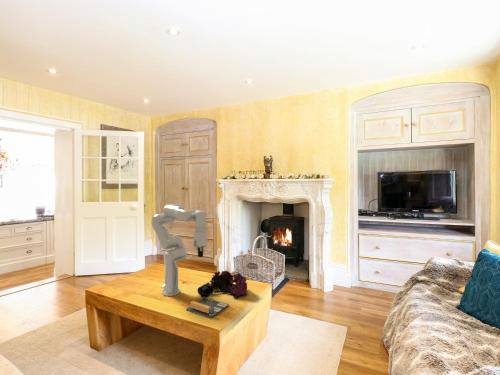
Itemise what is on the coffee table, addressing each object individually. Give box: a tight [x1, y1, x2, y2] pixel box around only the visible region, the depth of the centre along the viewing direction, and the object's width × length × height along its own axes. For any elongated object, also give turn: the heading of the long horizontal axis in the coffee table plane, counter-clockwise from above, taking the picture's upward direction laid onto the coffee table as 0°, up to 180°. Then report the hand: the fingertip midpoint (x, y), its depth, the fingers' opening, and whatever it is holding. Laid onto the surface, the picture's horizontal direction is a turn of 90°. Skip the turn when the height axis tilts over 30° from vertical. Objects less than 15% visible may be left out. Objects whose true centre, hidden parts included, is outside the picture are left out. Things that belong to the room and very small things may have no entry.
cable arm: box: [189, 300, 214, 314], centre depth 161 cm, size 18×3×3 cm, turn 60°
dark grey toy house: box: [197, 281, 214, 298], centre depth 188 cm, size 10×7×7 cm
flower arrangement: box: [209, 270, 248, 299], centre depth 194 cm, size 31×20×15 cm, turn 62°
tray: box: [186, 297, 229, 319], centre depth 167 cm, size 20×18×2 cm
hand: (200, 256), depth 172 cm, fingers closed
